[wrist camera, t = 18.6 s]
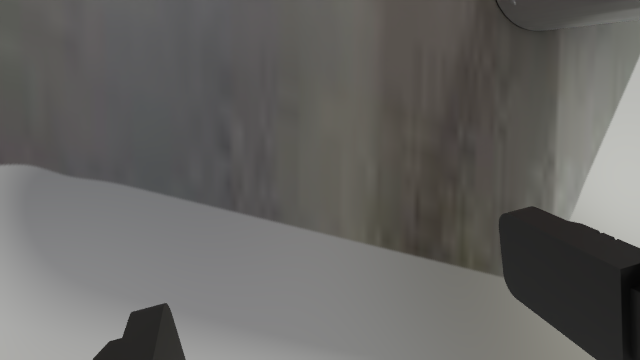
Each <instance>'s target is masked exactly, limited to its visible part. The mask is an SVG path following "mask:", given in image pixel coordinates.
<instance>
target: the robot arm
mask: <svg viewBox="0 0 640 360" xmlns="http://www.w3.org/2000/svg"><path fill="white" fill-rule="evenodd" d="M497 2H498V5H499V6H500V8H501V10H502V11H503V13H504V14H505V15H506V16H507V17H508V18H509V19H510V20H511V21H512V22H513V23H515V24H516V25H518V26H520V27H521V28H524V29H528V30H531V31H546V30H554V29H563V28H574V27H583V26H591V25H600V24H609V23H617V22H626V21H635V20H640V0H497ZM499 233H500V244H501V254H502V264H503V274H504V279H505V282H506V284H507V286H508V289H509V290H510V292H511V293H512V295H513V296H514V297H515V298H516V299H517V300H519V301H520V302H522V303H523V304H524V305H525V306H527V307H528V308H529V309H531V310H532V311H533V312H535V313H536V314H537V315H539V316H540V317H541V318H542V319H544V320H545V321H547V322H548V323H549V324H550V325H552V326H553V327H554V328H556V329H557V330H558V331H560V332H561V333H562V334H563V335H565V336H566V337H568V338H569V339H570V340H571V341H573V342H574V343H575V344H577V345H578V346H579V347H581V348H582V349H583V350H585V351H586V352H587V353H588V354H590V355H591V356H592V357H594V358H595V359H596V360H640V248H638V247H635V246H633V245H631V244H628V243H626V242H623V241H621V240H619V239H617V240H615V239H614V237H612V236H609V235H607V234H605V233H600V232H599V231H598V230H595V229H593V228H590V227H588V226H586V225H583V224H580V223H575V222H570V221H566V220H564V219H562V218H559V217H557V216H555V215H552V214H550V213H548V212H546V211H543V210H541V209H539V208H536V207H533V206H531V207H527V208H523V209H519V210H516V211H512V212H508V213H505V214H502V215H501V217H500V219H499ZM93 360H185V356H184V353H183V349H182V346H181V343H180V339H179V336H178V333H177V329H176V326H175V323H174V319H173V316H172V313H171V310H170V308H169V306H168V304H167V303H164V304H160V305H157V306H153V307H149V308H145V309H142V310H138V311H134V312H132V313H131V314H130V317H129V319H128V322H127V326H126V328H125V331H124V334H123V337H122V338H120V339H117V340H113V341H110V342H108V344H107V345H106V346H105V347H104V348H103V349H102V350H101V351H100V352H99V353H98V354H97V355H96V356H95V357H94V358H93Z"/></svg>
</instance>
